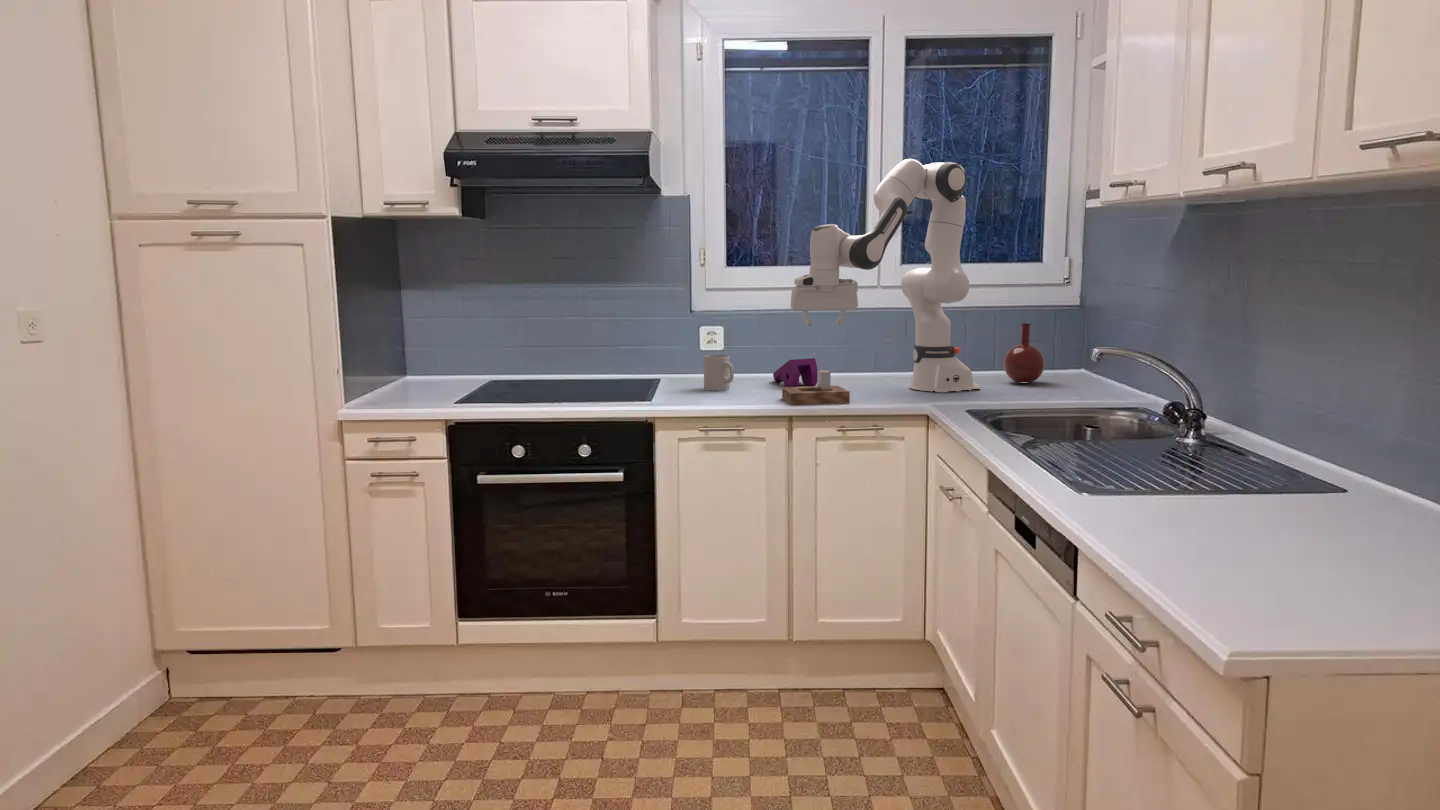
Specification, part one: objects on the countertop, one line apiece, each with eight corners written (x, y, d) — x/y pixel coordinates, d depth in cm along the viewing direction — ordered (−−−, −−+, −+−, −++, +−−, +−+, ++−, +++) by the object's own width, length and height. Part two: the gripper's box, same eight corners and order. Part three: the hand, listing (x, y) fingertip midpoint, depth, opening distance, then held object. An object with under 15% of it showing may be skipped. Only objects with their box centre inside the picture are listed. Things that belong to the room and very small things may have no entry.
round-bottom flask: (1043, 381, 335) (1046, 322, 332) (1044, 387, 323) (1047, 326, 319) (1003, 379, 339) (1005, 321, 335) (1003, 385, 326) (1005, 325, 323)
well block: (838, 396, 308) (838, 385, 307) (849, 402, 296) (849, 391, 295) (782, 398, 305) (782, 387, 304) (791, 405, 293) (791, 393, 292)
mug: (698, 389, 324) (698, 356, 322) (717, 386, 330) (717, 353, 328) (723, 393, 316) (723, 359, 314) (742, 390, 321) (742, 356, 319)
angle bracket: (826, 399, 303) (826, 370, 301) (830, 401, 299) (830, 372, 298) (801, 400, 302) (801, 371, 300) (804, 402, 298) (804, 372, 296)
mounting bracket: (773, 400, 337) (794, 384, 321) (768, 376, 339) (789, 359, 323) (798, 398, 341) (820, 382, 325) (793, 375, 343) (815, 358, 327)
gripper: (854, 278, 299) (854, 323, 302) (789, 279, 296) (789, 325, 298) (861, 279, 293) (860, 325, 295) (794, 280, 290) (794, 327, 292)
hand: (824, 325), depth 297 cm, fingers open, 8 cm apart
